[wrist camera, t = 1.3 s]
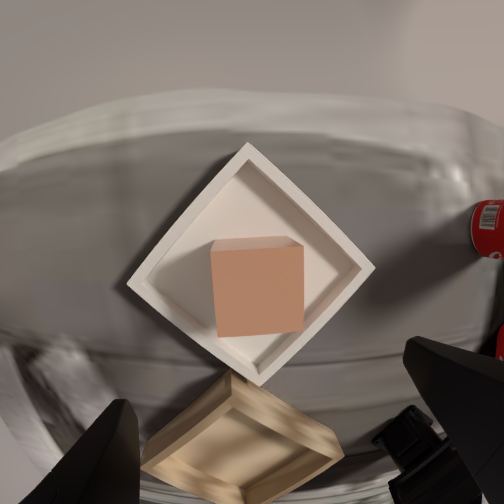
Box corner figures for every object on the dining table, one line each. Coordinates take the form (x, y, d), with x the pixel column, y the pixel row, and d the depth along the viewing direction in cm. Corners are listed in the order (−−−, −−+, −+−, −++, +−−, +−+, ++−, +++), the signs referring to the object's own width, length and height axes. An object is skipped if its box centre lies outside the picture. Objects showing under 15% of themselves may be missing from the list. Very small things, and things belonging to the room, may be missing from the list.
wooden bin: (333, 430, 25) (344, 456, 21) (245, 489, 26) (247, 513, 22) (231, 366, 23) (231, 395, 19) (146, 441, 24) (138, 468, 20)
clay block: (286, 235, 21) (303, 246, 16) (287, 302, 21) (303, 330, 17) (215, 239, 20) (210, 251, 15) (220, 307, 21) (217, 337, 16)
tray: (364, 262, 22) (375, 267, 20) (257, 373, 23) (259, 386, 21) (246, 147, 20) (247, 141, 18) (134, 276, 21) (126, 283, 19)
